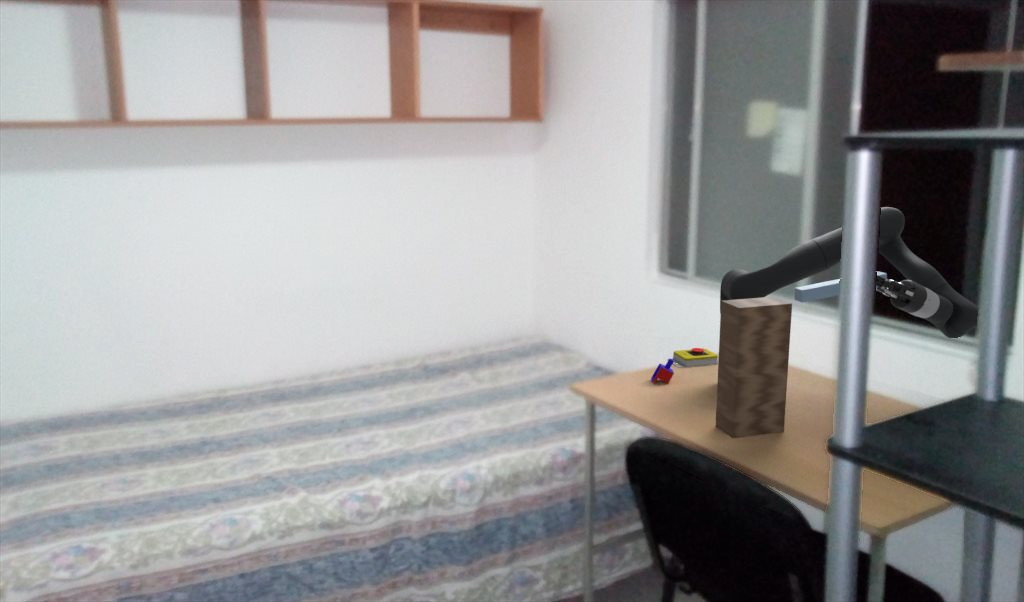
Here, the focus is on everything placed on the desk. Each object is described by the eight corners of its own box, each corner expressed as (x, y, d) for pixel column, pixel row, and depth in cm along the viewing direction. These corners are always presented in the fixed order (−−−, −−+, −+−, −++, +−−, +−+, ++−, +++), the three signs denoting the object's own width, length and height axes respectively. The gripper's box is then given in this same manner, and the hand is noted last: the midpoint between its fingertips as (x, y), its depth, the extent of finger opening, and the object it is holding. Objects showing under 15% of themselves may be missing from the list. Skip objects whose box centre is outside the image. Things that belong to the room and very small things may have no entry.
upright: (765, 420, 203) (772, 296, 196) (783, 431, 195) (792, 303, 188) (715, 426, 199) (721, 300, 192) (732, 438, 192) (738, 307, 185)
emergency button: (723, 351, 249) (679, 355, 245) (723, 365, 250) (679, 369, 246) (708, 343, 258) (666, 347, 254) (708, 357, 259) (665, 361, 255)
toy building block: (665, 388, 232) (678, 365, 231) (652, 382, 232) (666, 358, 231) (663, 384, 236) (677, 361, 234) (650, 378, 236) (664, 354, 234)
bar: (878, 283, 200) (878, 271, 199) (886, 285, 197) (886, 273, 196) (794, 299, 194) (794, 287, 193) (802, 302, 191) (802, 290, 190)
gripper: (901, 280, 209) (852, 257, 203) (943, 291, 195) (892, 267, 189) (888, 306, 209) (839, 284, 203) (930, 319, 196) (879, 296, 190)
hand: (865, 276), depth 196 cm, fingers closed on bar, 3 cm apart
